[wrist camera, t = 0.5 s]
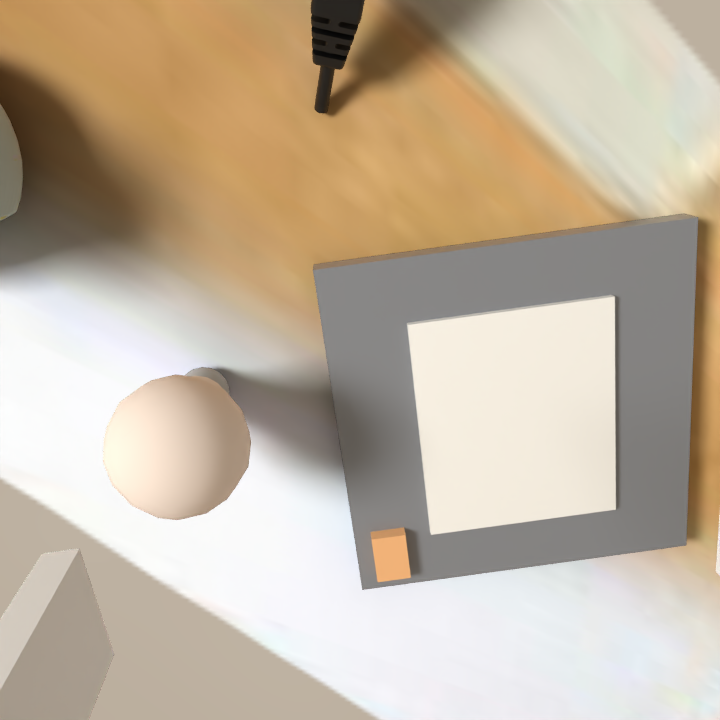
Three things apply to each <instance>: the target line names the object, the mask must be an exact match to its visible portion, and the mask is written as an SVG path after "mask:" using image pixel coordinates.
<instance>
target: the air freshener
mask: <svg viewBox="0 0 720 720" xmlns="http://www.w3.org/2000/svg"><path fill="white" fill-rule="evenodd" d="M22 183H23V170H22V158H21V153H20V149H19V144H18V140H17V137H16V135H15V132H14V130H13V127H12V124H11V122H10V120H9V118H8V116H7V114H6V113H5V111H4V109H3V107H2V105H1V104H0V221H1V220H3V219H5V218H7V217H9V216H11V215H13V214H14V213H16V212H17V209H18V205H19V202H20V199H21V192H22Z"/></svg>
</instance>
